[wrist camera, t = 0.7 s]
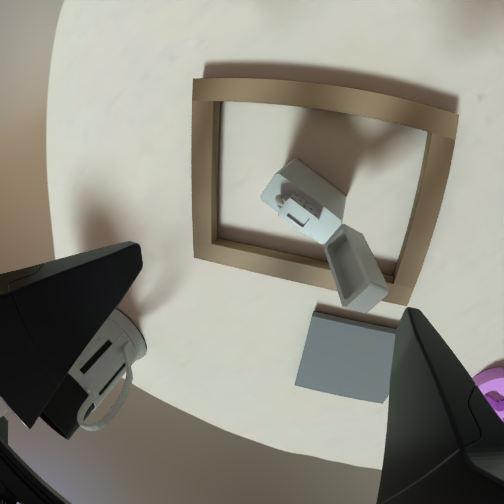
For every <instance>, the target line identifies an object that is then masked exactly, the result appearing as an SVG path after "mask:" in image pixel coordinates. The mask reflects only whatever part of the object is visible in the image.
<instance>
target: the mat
mask: <svg viewBox="0 0 504 504" xmlns="http://www.w3.org/2000/svg"><path fill="white" fill-rule="evenodd" d="M396 330H397V329H393V328H388V327H383V326H378V325H373V324H369V323H364V322H359V321H355V320H350V319H346V318H341V317H337V316H332V315H328V314H323V313H319V312H315V311H313V314H312V318H311V323H310V327H309V331H308V335H307V339H306V343H305V347H304V351H303V355H302V359H301V363H300V366H299V370H298V374H297V377H296V381H295V385H296V386H300V387H304V388H308V389H312V390H316V391H321V392H325V393H330V394H334V395H339V396H344V397H349V398H354V399H359V400H365V401H370V402H376V403H382V404H383V403H384V401H385V400H386V398H387V396H388V395H389V388H390V374H391V366H392V359H393V351H394V343H395V334H396Z"/></svg>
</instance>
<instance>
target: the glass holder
mask: <svg viewBox="0 0 504 504" xmlns="http://www.w3.org/2000/svg"><path fill="white" fill-rule="evenodd" d="M145 353H146V346H145V342H144V340H143V337H142V336H141V334H140V332H139V331H138V329H137V328H136V327H135V325H134V324H133V323H132V322H131V321H130V320H129V319H128V318H127V317H126V316H125V315H124V314H122V313H121V312H120V311H118V310H117V309H114V311H113V312H112V313H111V315H110V316H109V317H108V318H107V320H106V321H105V322H104V324H103V325H102V326H101V328H100V329H99V330H98V332H97V333H96V334H95V336H94V337H93V338H92V340H91V341H90V342H89V344H88V345H87V347H86V348H85V349H84V351H83V352H82V353H81V355H80V356H79V358H78V359H77V360H76V362H75V363H74V365H73V366H72V367H71V369H70V370H69V372H68V373H67V375H66V376H65V377H64V379H63V380H62V382H61V383H60V385H58V388H57V389H56V391H55V392H54V394H53V395H52V397H51V398H50V400H49V401H48V403H47V404H46V406H45V408H44V409H43V411H42V412H41V414H40V415H39V417H41V418H42V419H43V420H44V421H45V422H46V423H47V424H48V425H49V426H50V427H51V428H52V429H54V430H55V431H56V432H57V433H59V434H60V435H61V436H63V437H64V438H66V439H68V440H69V439H70V437H71V436H72V435H73V434H74V432H75V431H76V430H77V429H78V427H79V426H81V427H82V428H83V429H85V430H88V431H95V430H99V429H101V428H103V427H104V426H106V425H107V424H108V423H109V422H110V421H111V420H112V419H113V418H114V417H115V415H116V414H117V413H118V411H119V410H120V408H121V407H122V405H123V403H124V402H125V399H126V398H127V395H128V393H129V390H130V387H131V383H132V379H133V376H132V370H131V365H132V364H133V363H134V362H135V361H136V360H138V359H141V358H142V357H144V355H145ZM125 372H126V379H125V383H124V385H123V388H122V391H121V393H120V395H119V397H118V399H117V400H116V402H115V403H114V405H113V406H112V407H111V409H110V410H109V412H108V413H107V414H106V415H105V416H104V417H103V418H102V419H101V420H99V421H98V422H96V423H94V424H84V422H83V421H84V420H85V419H86V418H87V416H88V415H89V414H90V412H93V411H94V410H95V409H96V408H97V406H98V405H99V404H100V403H101V402H102V401H103V399H104V398H105V397H106V396H107V394H108V393H109V392H110V391H111V389H112V388H113V387H114V386H115V384H116V383H117V382H118V381H119V380H120V378H121V377H122V376H123V375H124V374H125Z"/></svg>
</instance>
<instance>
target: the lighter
mask: <svg viewBox="0 0 504 504" xmlns="http://www.w3.org/2000/svg"><path fill="white" fill-rule="evenodd" d="M260 197H261V200H262V201H263V202H265V203H266V204H267V205H269V206H270V207H271V208H273V209H274V210H276V211H277V212H278V215H279V216H280V217H281V218H283V219H284V220H285V221H287V222H288V223H289V224H291V225H292V226H293V227H295V228H296V229H297V230H299V231H300V232H301V233H303V234H304V235H309V236H310V237H312V238H313V239H314V240H316V241H317V242H318V243H320V244H324V251H325V254H326V257H327V260H328V263H329V266H330V269H331V272H332V275H333V278H334V281H335V284H336V287H337V290H338V293H339V297H340V300H341V303H342V306H344V307H347V308H350V309H353V310H356V311H359V312H362V313H367V312H368V311H370V310H371V309H372V308H373V307H374V306H375V305H376V304H378V303H379V302H380V301H381V300H382V299H383V298H384V297H386V296H387V295H388V291H389V288H388V286H387V284H386V281H385V279H384V277H383V275H382V273H381V271H380V269H379V266H378V264H377V262H376V260H375V258H374V256H373V254H372V252H371V250H370V248H369V246H368V244H367V242H366V240H365V238H364V236H363V234H362V233H360V232H358V231H356V230H354V229H352V228H351V227H349V226H347V225H345V224H342V220H343V214H344V208H345V201H346V197H345V195H344V194H343V193H341V192H340V191H339V190H338V189H336V188H335V187H334V186H332V185H331V184H330V183H328V182H327V181H326V180H324V179H323V178H322V177H320V176H319V175H318V174H316V173H315V172H314V171H312V170H311V169H310V168H308V167H307V166H306V165H304V164H303V163H301V162H300V161H299V160H297V159H292V160H291V161H290V162H289V163H288V164H286V165H285V166H284V167H283V168H282V169H280V170H279V171H278V172H277V173H276V174H275V175H274V176H273V177H272V179H271V180H270V182H269V183H268V185H267V186H266V188H265V189H264V191H263V192H262V194H261V195H260Z"/></svg>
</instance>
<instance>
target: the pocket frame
mask: <svg viewBox="0 0 504 504" xmlns="http://www.w3.org/2000/svg"><path fill="white" fill-rule="evenodd" d="M220 101H233V102H253V103H268V104H279V105H290V106H299V107H307V108H315V109H322V110H329V111H336V112H342V113H348V114H353V115H359V116H364V117H369V118H374V119H379V120H384V121H388V122H393V123H397V124H401V125H405V126H409V127H413V128H417V129H421V130H424V131H428V136H427V142H426V148H425V153H424V159H423V164H422V169H421V174H420V179H419V183H418V188H417V192H416V197H415V201H414V205H413V209H412V213H411V217H410V221H409V224H408V228H407V232H406V235H405V239H404V242H403V246H402V249H401V252H400V256H399V259H398V262H397V265H396V268H395V271H394V274H393V276H389V275H385V274H382V275H383V277H384V279H385V281H386V284H387V286H388V288H389V291H388V295H387V296H386V297H384V298H383V299H382V300H381V301H385V302H390V303H394V304H399V305H404V306H407V304H408V302H409V299H410V297H411V294H412V292H413V289H414V287H415V284H416V282H417V279H418V276H419V273H420V271H421V268H422V265H423V262H424V259H425V256H426V254H427V251H428V247H429V244H430V241H431V238H432V235H433V232H434V228H435V225H436V222H437V218H438V214H439V211H440V207H441V203H442V200H443V196H444V192H445V187H446V183H447V179H448V174H449V170H450V165H451V160H452V155H453V150H454V144H455V138H456V132H457V125H458V118H459V115H458V114H455V113H452V112H449V111H446V110H442V109H439V108H436V107H432V106H429V105H425V104H422V103H418V102H414V101H410V100H406V99H402V98H398V97H394V96H389V95H385V94H380V93H375V92H370V91H365V90H359V89H353V88H347V87H341V86H334V85H327V84H319V83H310V82H300V81H289V80H275V79H255V78H200V79H193V94H192V221H193V248H194V258H198V259H202V260H206V261H210V262H215V263H219V264H223V265H227V266H231V267H235V268H239V269H244V270H248V271H252V272H256V273H261V274H265V275H269V276H273V277H278V278H282V279H286V280H291V281H295V282H299V283H304V284H308V285H312V286H317V287H321V288H326V289H330V290H335V291H338V290H337V287H336V284H335V281H334V278H333V275H332V272H331V269H330V266H329V263H328V262H325V261H321V260H316V259H312V258H307V257H302V256H298V255H293V254H289V253H284V252H279V251H275V250H270V249H265V248H261V247H256V246H251V245H247V244H242V243H237V242H233V241H228V240H223V239H219V238H217V200H218V150H219V119H220Z"/></svg>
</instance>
